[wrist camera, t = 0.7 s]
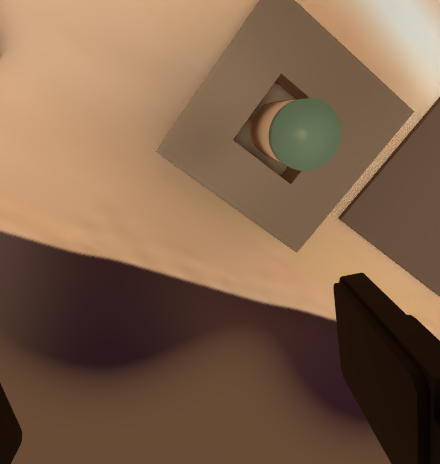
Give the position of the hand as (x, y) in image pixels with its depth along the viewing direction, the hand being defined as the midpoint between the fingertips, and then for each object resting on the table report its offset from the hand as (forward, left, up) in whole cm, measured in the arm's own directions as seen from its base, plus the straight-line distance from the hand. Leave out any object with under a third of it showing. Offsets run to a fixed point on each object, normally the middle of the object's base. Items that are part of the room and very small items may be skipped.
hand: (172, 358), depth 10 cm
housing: (-9, +4, -28) cm, 30 cm away
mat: (-15, +23, -28) cm, 40 cm away
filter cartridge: (-9, +4, -28) cm, 30 cm away
